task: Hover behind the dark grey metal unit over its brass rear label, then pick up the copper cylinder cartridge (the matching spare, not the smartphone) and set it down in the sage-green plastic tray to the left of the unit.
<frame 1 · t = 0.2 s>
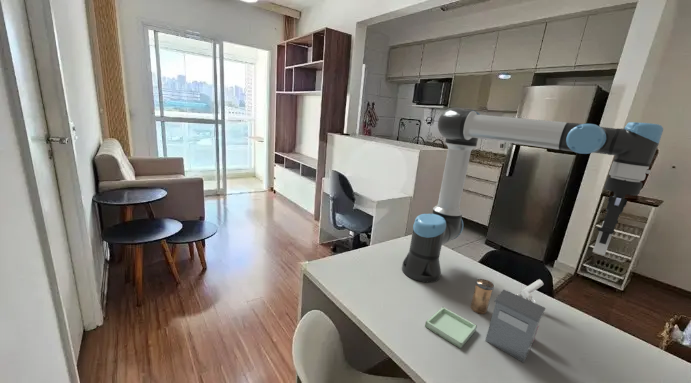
hand: (600, 247, 89), 28 cm above the table, fingers open, 13 cm apart
spare: (478, 309, 99), on the table
unit: (507, 345, 84), on the table
tray: (450, 328, 88), on the table
pill bottle: (524, 338, 88), on the table
hook: (524, 303, 105), on the table
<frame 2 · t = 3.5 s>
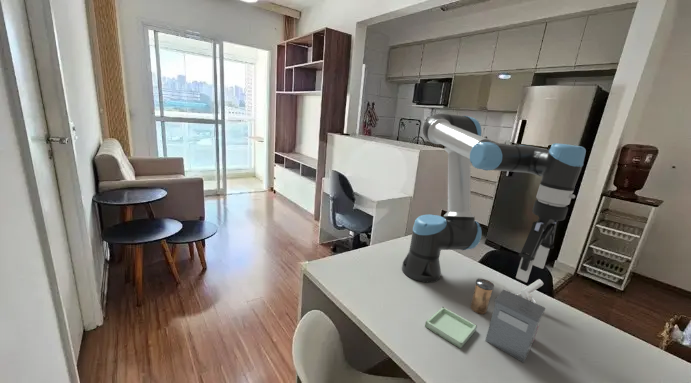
hand: (530, 272, 84), 20 cm above the table, fingers open, 13 cm apart
nothing on the table moved.
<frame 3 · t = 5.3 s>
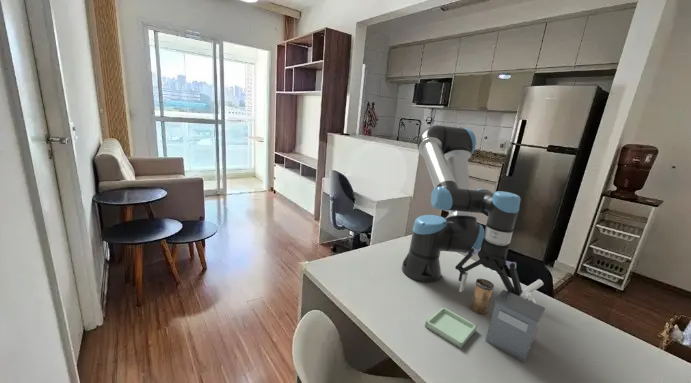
hand: (481, 300, 97), 4 cm above the table, fingers open, 13 cm apart
nothing on the table moved.
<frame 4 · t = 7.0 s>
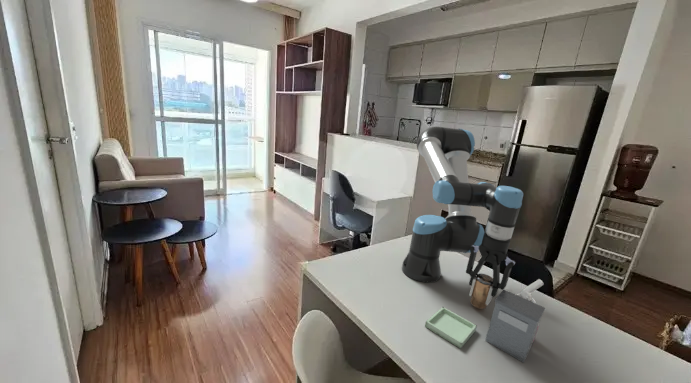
hand: (479, 298, 98), 4 cm above the table, fingers closed on spare, 5 cm apart
spare: (478, 303, 99), point 1 cm above the table, touching gripper
everything else where it was.
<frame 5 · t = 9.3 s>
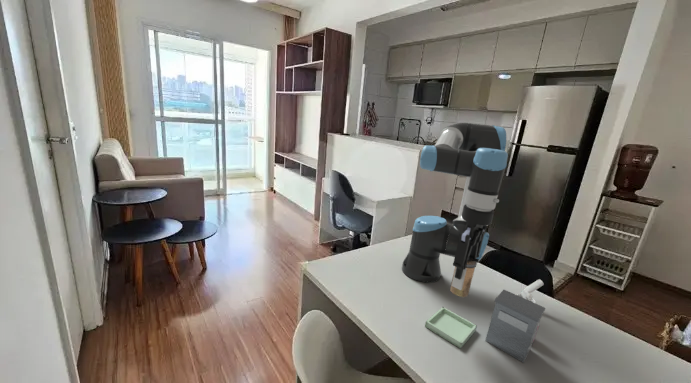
hand: (460, 284, 84), 15 cm above the table, fingers closed on spare, 5 cm apart
spare: (459, 291, 85), point 13 cm above the table, touching gripper
everything else where it was.
when the fingers open (3 cm above the table, at t = 11.7 s): spare stays where it is, resting on tray.
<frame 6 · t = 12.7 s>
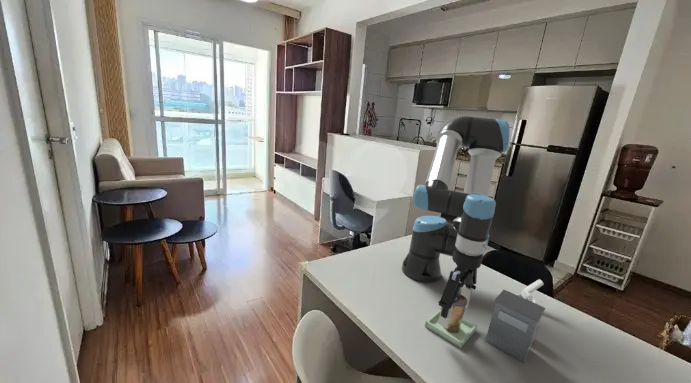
hand: (453, 315, 87), 5 cm above the table, fingers open, 13 cm apart
spare: (450, 327, 88), point 1 cm above the table, touching tray
everything else where it was.
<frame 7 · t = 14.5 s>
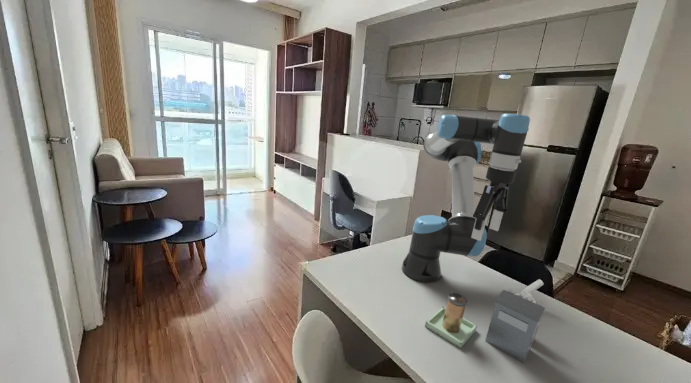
hand: (485, 234, 92), 27 cm above the table, fingers open, 13 cm apart
nothing on the table moved.
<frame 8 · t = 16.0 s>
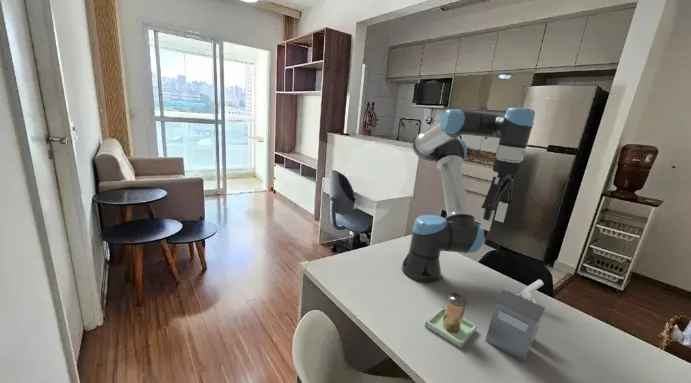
hand: (492, 225, 95), 29 cm above the table, fingers open, 13 cm apart
nothing on the table moved.
at the end: spare inside the target area on the tray (0.1 cm from its centre), point 0.6 cm above the tray's base; spare tilted 0°; the gripper is holding nothing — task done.
